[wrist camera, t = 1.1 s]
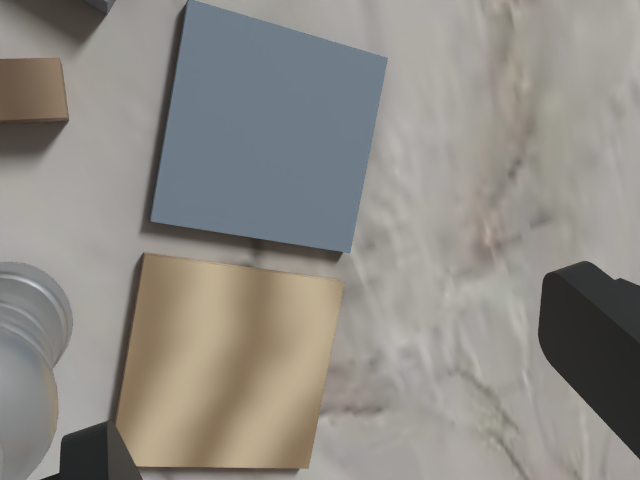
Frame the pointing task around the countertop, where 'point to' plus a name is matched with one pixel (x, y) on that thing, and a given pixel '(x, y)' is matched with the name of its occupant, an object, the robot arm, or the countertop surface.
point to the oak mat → (225, 365)
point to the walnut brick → (32, 91)
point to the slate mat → (266, 131)
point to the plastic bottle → (29, 365)
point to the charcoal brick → (102, 5)
